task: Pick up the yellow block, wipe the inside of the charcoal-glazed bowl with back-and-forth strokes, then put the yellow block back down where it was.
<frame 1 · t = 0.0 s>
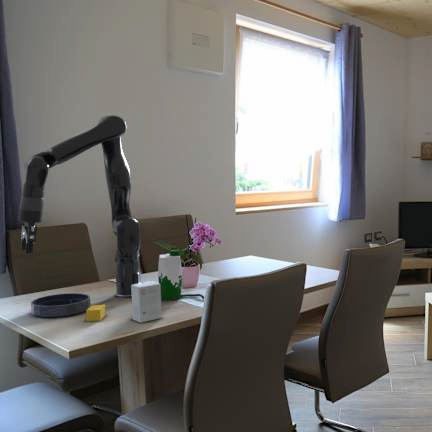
hand: (26, 251, 207), 22 cm above the table, tool pointing down, fingers open, 8 cm apart
milk carton: (170, 298, 230), on the table
small box: (147, 319, 200), on the table
yellow block: (96, 318, 200), on the table
bowl: (61, 311, 208), on the table
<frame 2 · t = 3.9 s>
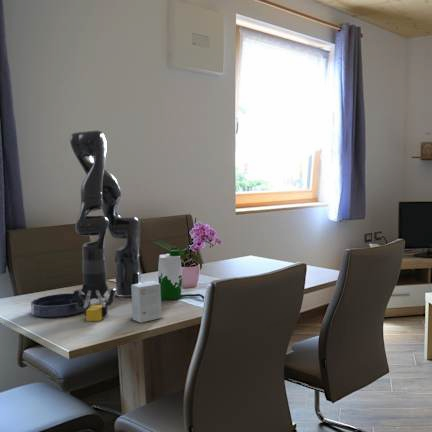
hand: (96, 316, 200), 1 cm above the table, tool pointing down, fingers closed on yellow block, 4 cm apart
yellow block: (96, 318, 200), on the table, touching gripper
everything else where it was.
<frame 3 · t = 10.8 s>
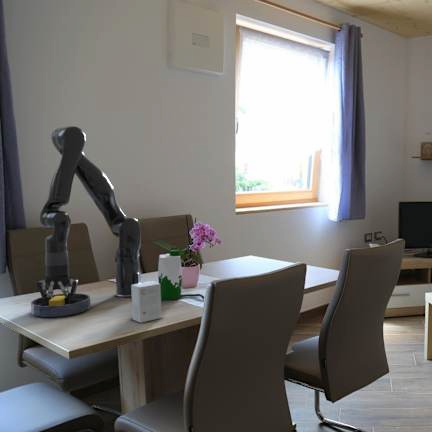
hand: (59, 306, 209), 1 cm above the table, tool pointing down, fingers closed on yellow block, 4 cm apart
yellow block: (59, 308, 209), point 1 cm above the table, touching gripper
everything else where it was.
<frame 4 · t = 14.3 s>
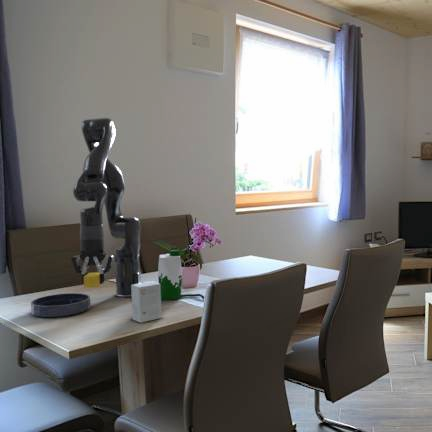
hand: (93, 283, 198), 13 cm above the table, tool pointing down, fingers closed on yellow block, 4 cm apart
yellow block: (93, 285, 198), point 12 cm above the table, touching gripper
everything else where it was.
when the fingers open (0 cm above the table, at t = 17.5 s): yellow block stays where it is, on the table.
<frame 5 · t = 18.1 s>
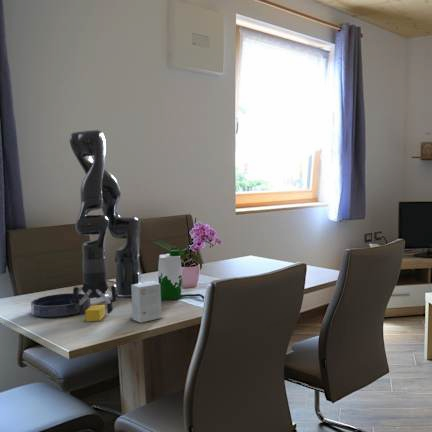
hand: (96, 313, 200), 2 cm above the table, tool pointing down, fingers open, 8 cm apart
yellow block: (95, 318, 200), on the table
everything else where it was.
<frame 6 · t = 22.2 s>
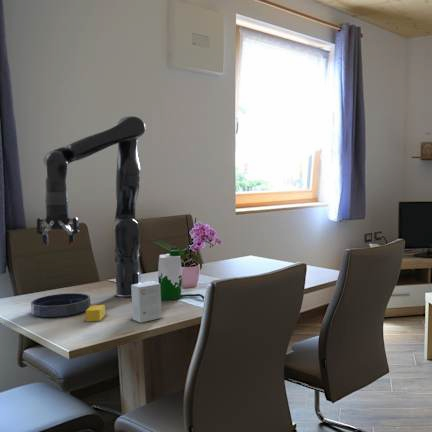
hand: (58, 244, 214), 24 cm above the table, tool pointing down, fingers open, 8 cm apart
nothing on the table moved.
at the end: yellow block 0.2 cm from the target spot, on the table; the gripper is holding nothing; yellow block tilted 0° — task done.
